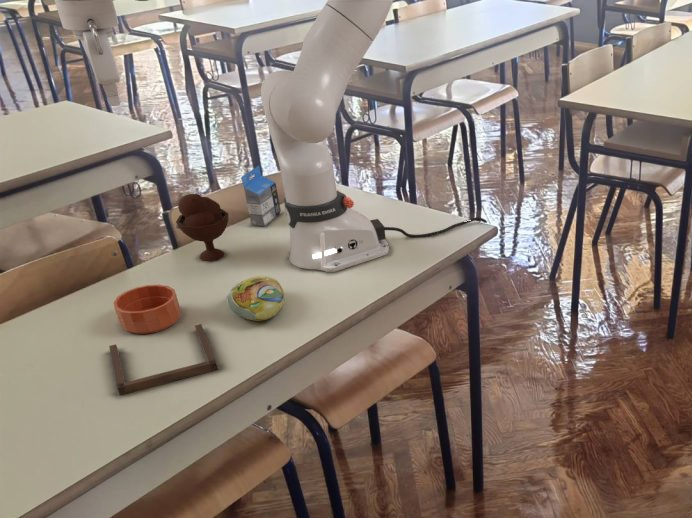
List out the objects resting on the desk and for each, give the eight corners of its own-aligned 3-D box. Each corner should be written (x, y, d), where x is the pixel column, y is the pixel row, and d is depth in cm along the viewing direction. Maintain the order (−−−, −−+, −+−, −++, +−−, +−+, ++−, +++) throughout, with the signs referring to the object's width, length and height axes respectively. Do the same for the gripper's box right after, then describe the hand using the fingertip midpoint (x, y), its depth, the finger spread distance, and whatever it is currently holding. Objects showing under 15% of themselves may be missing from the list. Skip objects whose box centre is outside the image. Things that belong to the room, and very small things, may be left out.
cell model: (286, 277, 159) (284, 284, 145) (284, 314, 161) (281, 324, 147) (232, 272, 157) (224, 278, 142) (230, 309, 158) (222, 319, 144)
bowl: (177, 301, 156) (170, 279, 153) (186, 326, 148) (179, 303, 145) (118, 314, 152) (111, 292, 149) (124, 340, 144) (116, 318, 141)
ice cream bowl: (223, 268, 168) (206, 204, 160) (177, 264, 170) (159, 200, 162) (245, 248, 177) (231, 186, 168) (202, 244, 179) (186, 183, 170)
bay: (203, 330, 147) (201, 323, 146) (218, 369, 136) (216, 362, 135) (111, 353, 141) (108, 345, 140) (119, 395, 130) (117, 388, 129)
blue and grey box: (265, 227, 187) (255, 178, 179) (250, 225, 187) (240, 177, 180) (282, 213, 194) (273, 166, 186) (268, 212, 194) (258, 164, 187)
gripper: (114, 23, 123) (138, 110, 131) (103, 5, 138) (125, 84, 146) (71, 27, 121) (98, 115, 129) (64, 7, 136) (89, 88, 144)
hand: (112, 98), depth 138 cm, fingers open, 8 cm apart
